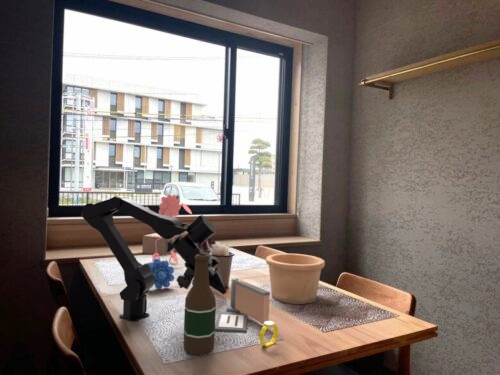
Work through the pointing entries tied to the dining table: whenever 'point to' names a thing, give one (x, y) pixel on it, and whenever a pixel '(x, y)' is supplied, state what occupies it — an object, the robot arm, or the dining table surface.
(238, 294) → the tan grey flat panel
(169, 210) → the pink tall branching piece
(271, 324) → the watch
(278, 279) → the pottery
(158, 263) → the grapes
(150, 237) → the tissue box cover
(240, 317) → the label board
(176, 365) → the dining table surface
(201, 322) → the beer bottle
